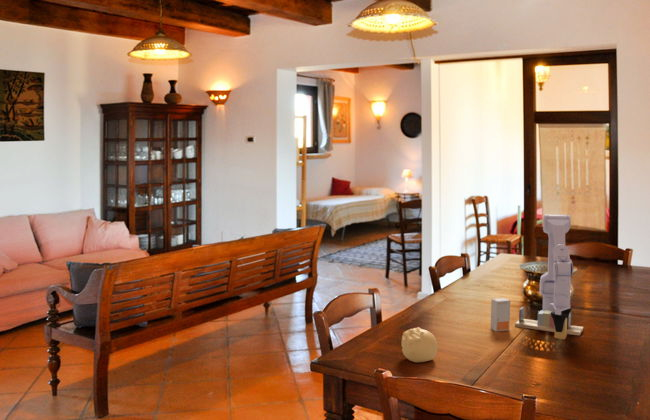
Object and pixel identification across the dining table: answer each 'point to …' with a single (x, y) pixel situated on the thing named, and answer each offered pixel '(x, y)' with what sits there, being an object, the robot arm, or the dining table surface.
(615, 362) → the dining table surface
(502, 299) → the skincare box
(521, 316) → the bookends
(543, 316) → the books
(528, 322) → the shelf board
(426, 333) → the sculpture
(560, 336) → the tan rectangular block
